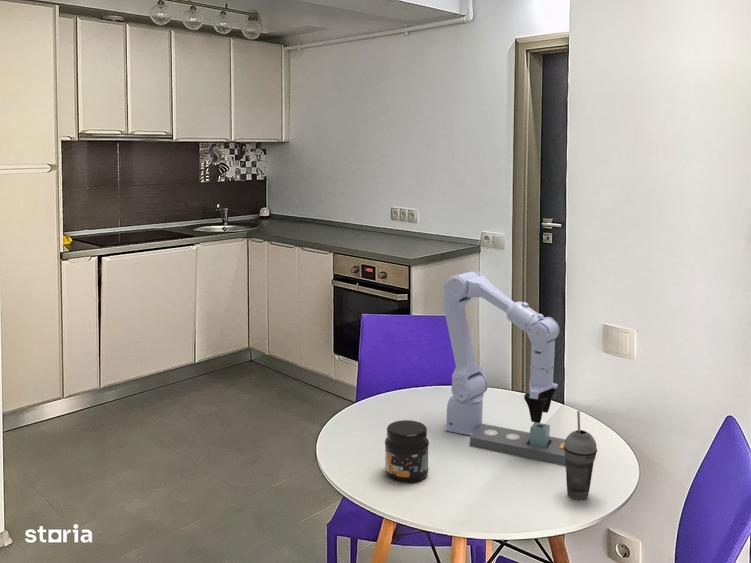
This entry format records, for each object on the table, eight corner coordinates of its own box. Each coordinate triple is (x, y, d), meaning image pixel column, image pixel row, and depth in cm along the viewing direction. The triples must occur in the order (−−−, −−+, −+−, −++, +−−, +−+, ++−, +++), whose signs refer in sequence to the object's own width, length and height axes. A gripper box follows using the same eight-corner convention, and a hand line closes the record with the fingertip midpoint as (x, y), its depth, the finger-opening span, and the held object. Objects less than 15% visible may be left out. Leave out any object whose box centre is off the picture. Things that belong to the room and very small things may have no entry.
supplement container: (376, 475, 172) (375, 428, 170) (402, 460, 180) (402, 415, 178) (411, 489, 165) (411, 440, 163) (437, 472, 173) (437, 426, 171)
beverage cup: (576, 507, 157) (581, 421, 153) (554, 492, 163) (558, 410, 159) (601, 499, 160) (606, 415, 156) (578, 485, 167) (582, 404, 163)
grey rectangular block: (529, 453, 184) (530, 426, 182) (533, 447, 187) (534, 421, 186) (544, 456, 182) (545, 429, 181) (548, 450, 186) (549, 423, 184)
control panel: (469, 446, 188) (470, 435, 188) (482, 432, 197) (482, 422, 196) (569, 466, 176) (570, 455, 176) (578, 450, 185) (578, 440, 184)
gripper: (550, 376, 172) (548, 429, 175) (564, 360, 185) (562, 409, 188) (522, 372, 176) (520, 424, 178) (538, 356, 188) (535, 405, 191)
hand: (539, 416), depth 183 cm, fingers open, 7 cm apart
